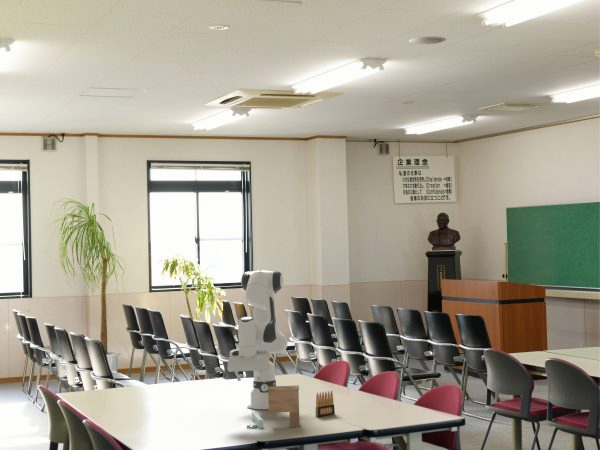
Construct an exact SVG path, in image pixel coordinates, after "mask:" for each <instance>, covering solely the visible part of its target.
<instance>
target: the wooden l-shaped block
mask: <svg viewBox="0 0 600 450" xmlns="http://www.w3.org/2000/svg"><path fill="white" fill-rule="evenodd" d="M299 390H300V385H279V386H278V385H276V386H270V387H268V398H269V409H268V414H271V413H272V414H273V413H289V428H300V427H301V423H300V422H301V420H300V398H299V397H300V395H299V394H300V392H299Z"/></svg>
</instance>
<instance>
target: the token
mask: <svg viewBox="0 0 600 450" xmlns="http://www.w3.org/2000/svg"><path fill="white" fill-rule="evenodd" d="M257 427H258V426H257V425H256V424H248V425H246V429H248V428H255V429H257Z"/></svg>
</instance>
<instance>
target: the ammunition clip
mask: <svg viewBox="0 0 600 450" xmlns="http://www.w3.org/2000/svg"><path fill="white" fill-rule="evenodd" d="M335 413H336V411H335V404H334V392H333V390H328V391H325V392H324V391H322V392H321V391H320V392H317V393H316V401H315V418H318V419H320V418H324V416H325V417H330V416H336V414H335Z"/></svg>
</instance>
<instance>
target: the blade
mask: <svg viewBox="0 0 600 450" xmlns="http://www.w3.org/2000/svg"><path fill="white" fill-rule="evenodd" d="M251 417H252V418H251V420H252V422H253V423H254V422H255V423H256V424H255V423H254V424H255V425H257V427H259V428H258V429H263V428H264V419H263V418H262V417H261V416H260V414H259V413H258V412H257V411H252V412H251ZM262 427H263V428H262Z"/></svg>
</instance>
